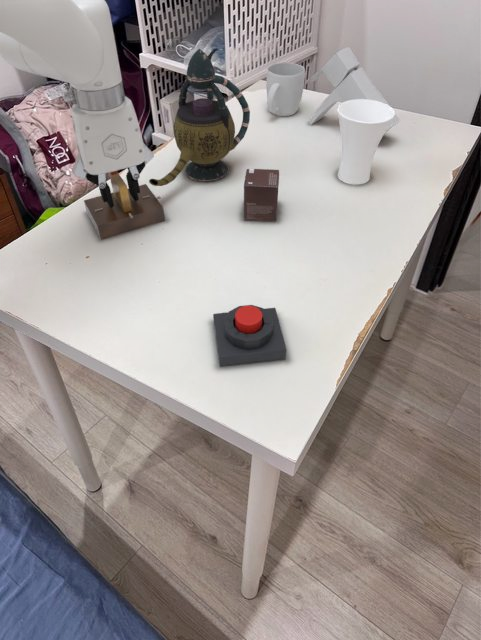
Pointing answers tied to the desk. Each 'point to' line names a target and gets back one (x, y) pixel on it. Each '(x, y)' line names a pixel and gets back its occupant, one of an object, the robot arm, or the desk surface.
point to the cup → (361, 137)
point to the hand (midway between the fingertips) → (122, 199)
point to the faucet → (347, 84)
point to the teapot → (205, 125)
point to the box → (261, 195)
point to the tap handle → (120, 191)
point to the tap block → (119, 222)
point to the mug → (284, 88)
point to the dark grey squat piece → (248, 339)
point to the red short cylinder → (248, 319)
